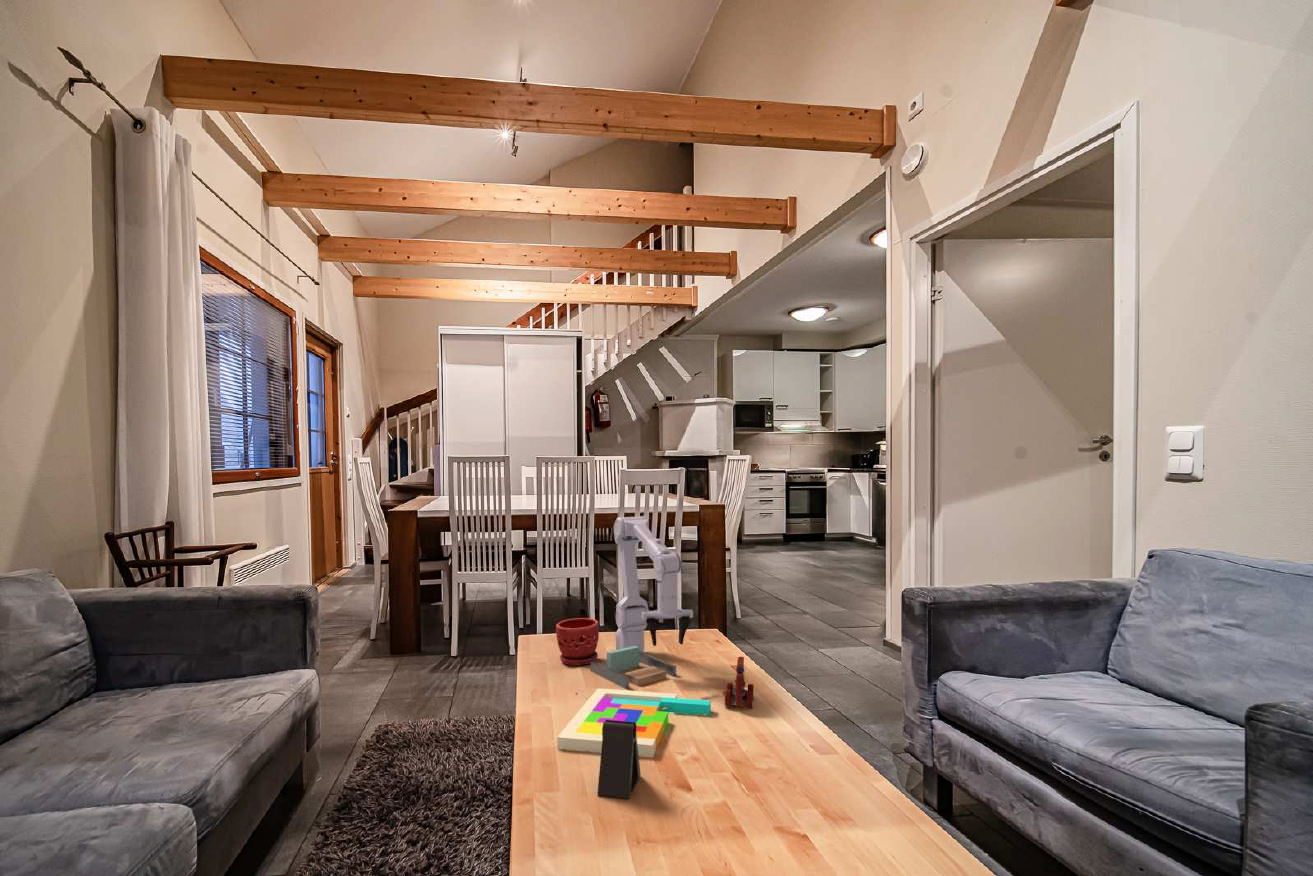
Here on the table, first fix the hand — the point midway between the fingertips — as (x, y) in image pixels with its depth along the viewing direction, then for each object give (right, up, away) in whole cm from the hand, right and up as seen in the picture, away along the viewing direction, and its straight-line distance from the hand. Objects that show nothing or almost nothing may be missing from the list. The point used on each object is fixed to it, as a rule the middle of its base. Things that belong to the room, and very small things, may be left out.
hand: (667, 644), depth 180 cm
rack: (-10, -10, 0) cm, 14 cm away
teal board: (-13, -10, +4) cm, 17 cm away
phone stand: (-10, -8, -60) cm, 61 cm away
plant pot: (-28, -11, +16) cm, 34 cm away
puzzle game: (-7, -9, -32) cm, 34 cm away
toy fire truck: (+18, -9, -19) cm, 28 cm away
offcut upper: (-6, -8, -5) cm, 11 cm away
